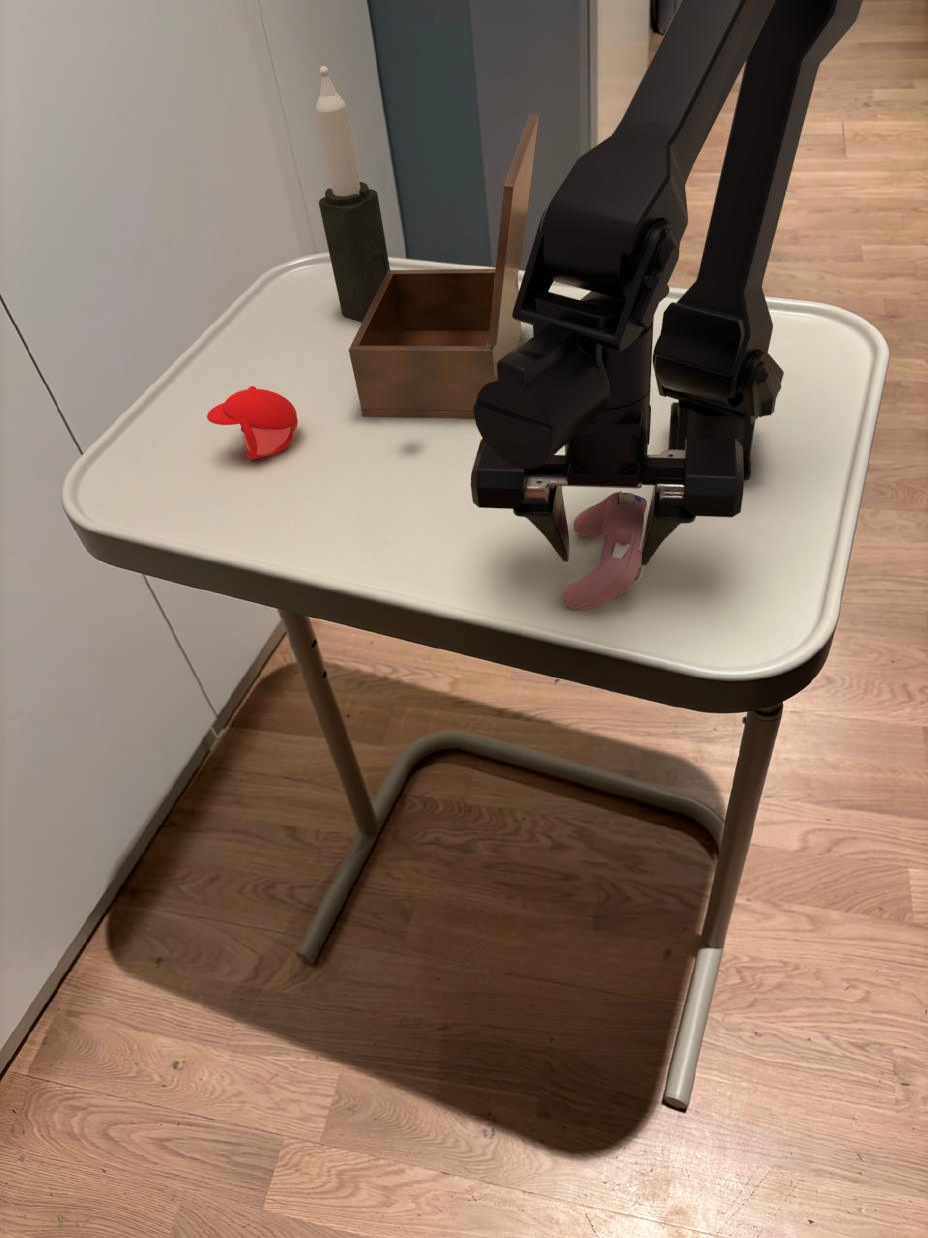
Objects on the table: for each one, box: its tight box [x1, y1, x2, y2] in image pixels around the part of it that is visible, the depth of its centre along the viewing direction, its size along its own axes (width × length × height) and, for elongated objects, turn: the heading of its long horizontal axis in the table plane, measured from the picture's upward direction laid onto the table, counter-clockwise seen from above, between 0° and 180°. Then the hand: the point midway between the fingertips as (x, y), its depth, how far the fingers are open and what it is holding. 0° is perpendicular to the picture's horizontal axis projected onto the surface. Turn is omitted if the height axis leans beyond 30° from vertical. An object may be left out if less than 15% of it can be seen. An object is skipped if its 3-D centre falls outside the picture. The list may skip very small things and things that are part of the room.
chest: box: [348, 268, 523, 419], centre depth 93 cm, size 14×16×7 cm
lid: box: [488, 113, 539, 346], centre depth 84 cm, size 14×16×1 cm
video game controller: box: [561, 490, 648, 610], centre depth 72 cm, size 10×5×7 cm, turn 170°
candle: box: [315, 65, 391, 323], centre depth 98 cm, size 5×5×25 cm
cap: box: [206, 385, 299, 460], centre depth 88 cm, size 8×6×6 cm
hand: (605, 559), depth 73 cm, fingers closed on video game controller, 6 cm apart
